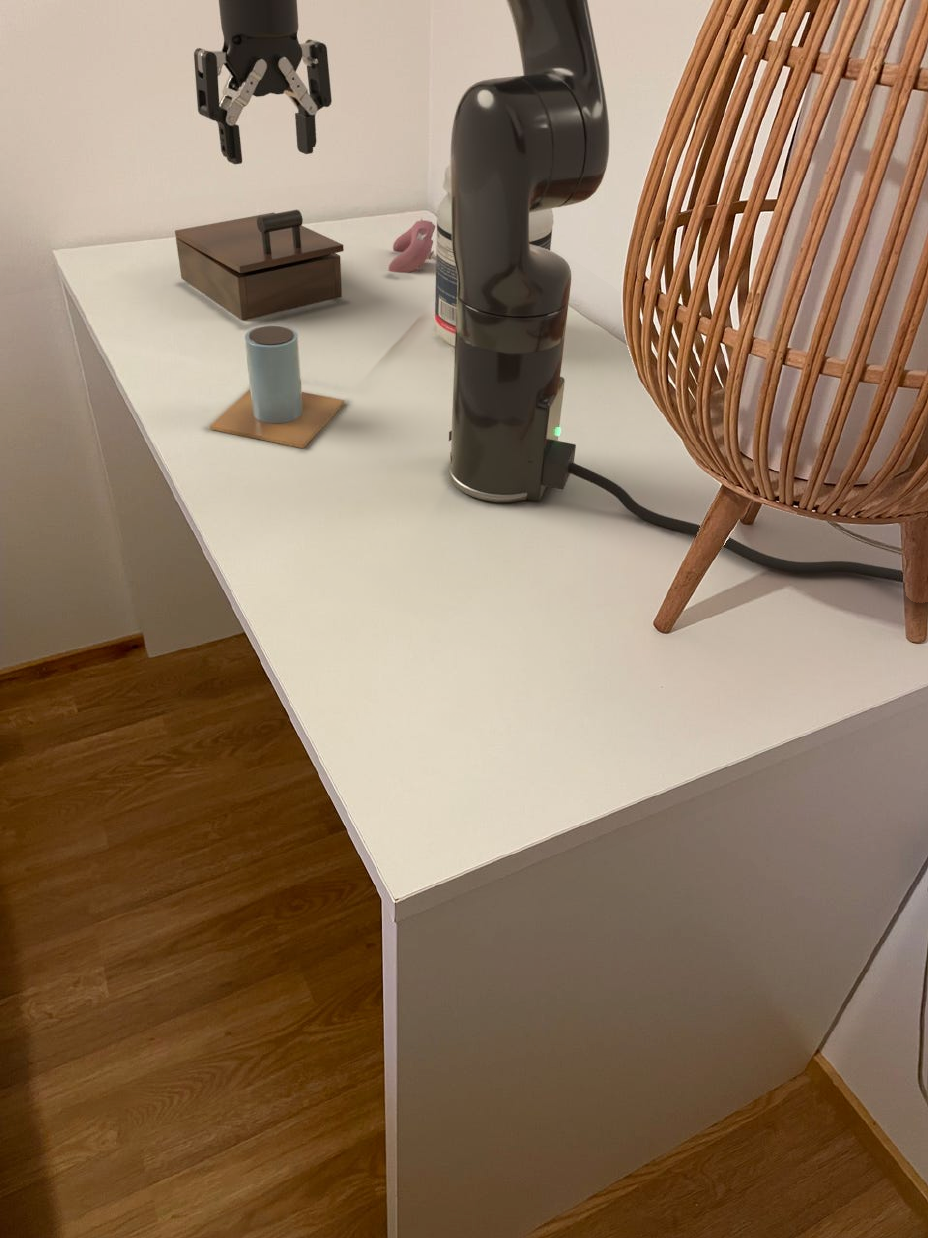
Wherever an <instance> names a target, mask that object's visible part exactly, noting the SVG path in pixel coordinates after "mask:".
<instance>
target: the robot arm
mask: <svg viewBox="0 0 928 1238" xmlns="http://www.w3.org/2000/svg"><path fill="white" fill-rule="evenodd" d="M505 1H506V4H507V6H508V10H509V12H510V15H511V18H512V22H513V26H514V29H515V35H516V38H517V43H518V49H519V54H520V60H521V66H522V67H521V68H522V73H523V75H516V76H506V77H495V78H490V79H489V78H488V79H483V80H480V81H478V82H475V83H473V84H472V85H471V86H469V87H468V88H467V89H466V90H465V91H464V93H463V94H462V96H461V97H460V100H459V102H458V104H457V106H456V110H455V113H454V116H453V122H452V127H451V134H450V135H451V137H450V154H449V155H450V156H449V157H450V161H449V163H450V164H449V165H450V168H451V235H452V250H453V257H454V261H455V266H456V271H457V278H458V286H457V310H456V334H455V347H454V358H453V359H454V361H453V363H454V364H453V387H452V412H451V413H452V414H451V430H450V431H448V442H451V443H450V455H449V465H448V476H449V479H450V481H451V483H452V484H453V486H454V487H455V488H457V489H458V490H459V491H460V492H462V493H464V494H465V495H468V496H470V497H472V498H476V499H479V500H481V501H488V502H494V503H514V502H521V501H532V502H540V500H541V499H542V496H543V494H544V492H545V490H546V489H547V487H549V488H553V489H559V490H564V488H565V486H566V484H567V482H568V479H569V477H570V475H571V474H572V475H574V476H576V477H577V478H580V479H582V480H585V481H587V482H590V483H591V484H593V485H596V486H597V487H599V488H601V489H603V490H604V491H607V492H608V493H610V494H611V495H613V496H614V497H615V498H616V499H617V500H618V501H619V502H620V503H621V505H623V506H624V508H626V509H627V510H628V511H629V512H630V513H632V514H633V515H635V516H636V517H638V518H640V519H642V520H644V521H646V522H648V523H651V524H654V525H656V526H659V527H663V528H666V529H670V530H673V531H678V532H681V533H686V534H690V535H693V536H696V534H697V532H698V531H699V528H700V526H701V525H700V524H696V523H693V522H689V521H685V520H681V519H678V518H673V517H668V516H666V515H662V514H659V513H657V512H655V511H652V510H650V509H648V508H646V507H644V506H642V505H640V504H639V503H638V502H637V501H635V500H634V499H633V498H632V496H630V494H629V493H628V492H627V491H626V490H625V489H624V488H622V487H621V486H620V485H618V484H617V483H615V482H614V481H612V480H611V479H609V478H607V477H605V476H603V475H602V474H599V473H597V472H595V471H592V470H591V469H588V468H586V467H583V466H581V465H579V464H577V463H575V456H576V450H577V449H576V448H577V444H576V443H570V442H566V441H561V440H559V437H560V434H561V427H560V426H561V425H560V424H561V416H562V409H563V399H564V391H565V378H564V377H563V376H561V372H562V364H563V356H564V346H565V337H566V330H567V329H566V328H567V322H568V321H567V320H568V311H569V301H570V295H571V287H572V270H571V267H570V264H569V263H568V261H567V260H566V259H565V258H563V257H562V256H560V255H559V254H558V253H556V252H554V251H552V250H551V249H550V250H547V249H545V248H542V247H539V246H535V245H532V244H529V212H535V211H540V210H546V209H554V208H562V207H567V206H572V205H577V204H579V203H581V202H585V201H586V200H588V199H590V198H591V197H592V196H594V194H595V193H596V192H597V191H598V189H599V188H600V185H601V184H602V182H603V179H604V176H605V174H606V171H607V167H608V162H609V156H610V121H609V112H608V105H607V98H606V92H605V87H604V81H603V76H602V70H601V69H602V68H601V63H600V59H599V53H598V48H597V43H596V39H595V34H594V29H593V23H592V18H591V12H590V6H589V1H588V0H505ZM218 7H219V17H220V27H221V32H222V36H223V45H222V48H221V50H206V49H204V48H200V47H197V48H196V49H195V50H194V51H193V60H194V74H195V76H194V77H195V88H196V89H195V90H196V103H197V112H198V114H199V115H201V116H203V117H205V118H206V119H210V120H211V121H215V122H216V124H217V127H218V134H219V135H218V136H219V144H220V151H221V154H222V156H223V157H224V158H226V160H227V161H228V162H229V163H231V164H232V165H240V164H242V163H243V154H242V153H243V152H242V143H241V133H240V126H239V124H237V122H238V120H239V118H240V116H241V114H242V112H243V110H244V108H245V107H247V106H248V105H249V103H250V101H251V99H252V97H253V96H254V97H256V98H258V97H259V98H260V97H264V96H267V95H269V94H273V95H284V94H285V95H286V96H287V97H288V98H289V100H290V101H291V102H292V104H293V105H294V106H295V108H296V110H297V112H294V121H295V133H296V147H297V150H298V152H300V153H301V154H302V153H303V154H305V155H310V154H313V153H314V148H315V147H316V144H317V128H316V125H317V124H316V114H317V113H318V111H320V110H321V109H323V108H329V107H330V106H331V105H332V101H333V100H332V99H333V98H332V89H331V78H330V68H329V58H328V46H327V45H326V44H325V43H324V42H320V41H318V40H316V39H310V38H309V39H307V40H306V41H305V42H304V43H300V41H299V40H298V31H299V15H298V14H299V11H298V1H297V0H218ZM301 62H303V64H304V65H305V66H306V73H307V81H308V88H307V86H306V85H305V84H304V82H303V80H302V79H301V78H300V76H299V75H298V74H297V70H298V68H299V65H300V64H301ZM223 66H225V68H226V69H227V71H228V72H229V76H228V79H227V80H226V82H225V85H224V87H223V89H222V92H221V93H222V96H221V98H220V89H219V76H221V73H222V68H223ZM308 90H309V91H308ZM728 537H729V539H728V540H727V541H726V543H725V545H724V546H722V547H723V548H725V549H726V550H729V551H730V552H732V553H735V554H736V555H738V556H740V557H742V558H744V559H746V560H748V561H750V562H752V563H755V564H757V565H759V566H763V567H766V568H769V569H771V570H776V571H779V572H780V571H781V572H785V573H793V574H807V575H808V574H830V573H845V574H855V575H861V576H867V577H871V578H877V579H882V580H888V581H894V582H899V583H902V584H904V583H903V572H902V571H903V570H900V569H896V568H892V567H891V568H889V567H884V566H879V565H872V564H868V563H863V562H855V561H847V560H846V561H843V560H828V561H795V560H786V559H781V558H777V557H774V556H770V555H767V554H765V553H762V552H760V551H758V550H755V549H753V548H751V547H750V546H747V545H745V544H743V543H741V542H740V541H737V540H735V539H734V538H732V537H730V536H728Z"/></svg>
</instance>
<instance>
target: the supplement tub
mask: <svg viewBox="0 0 928 1238" xmlns="http://www.w3.org/2000/svg"><path fill="white" fill-rule="evenodd" d="M442 184H443V185H442V187H443V189H444V190H445V191H446V195H445V196H444V197H442V199H441V201H440V202H439V204H438V207H437V213H436V244H435V245H436V249H435V252H436V255H435V295H434V297H435V299H434V300H435V301H434V326H435V330H436V332H437V334H438V335H439V337H440V338H441V339H442V340H443V341H444V342H446V343H447V344H449V345H450V346H452V347H454V348H455V334H456V310H457V286H458V278H457V271H456V266H455V261H454V257H453V250H452V235H451V168H450V164H449V165H448V166H447V167H446V168H445V170H444V181H443V183H442ZM553 226H554V213H553V208H551V209H546V210H540V211H535V212H529V244H532V245H535V246H539V247H542V248H545V249H547V250H550V251H551V246H552V236H553Z"/></svg>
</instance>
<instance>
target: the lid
mask: <svg viewBox="0 0 928 1238" xmlns="http://www.w3.org/2000/svg"><path fill="white" fill-rule="evenodd" d="M303 221H304V219H303V216H302V213H301V211H300V210H299V209H293V210H286V211H281V212H277V213H276V212H268V213H263V214H258V215H252V216H247V217H241V218H236V219H230V220H225V221H219V222H214V223H208V224H203V225H198V226H197V225H196V226H191V227H187V228H181V229H175V230H174V235H175V238H178V239H180V240H182V241H184V242H186V243H187V244H189V245H191V246H193V247H194V248H196V249H198V250H200V251H202V252H203V253H205V254H207V255H209V256H210V257H212V258H214V259H216V260H218V261H219V262H221V263H223V264H225V265H226V266H228V267H230V268H232V269H234V270H235V271H237V272H239V273H245V272H249V271H254V270H259V269H263V268H268V267H272V266H277V265H282V264H286V263H291V262H296V261H300V260H305V259H310V258H314V257H319V256H324V255H328V254H333V253H336V254H338V253H342V252H344V249H345V247H344V244H343V243H341V242H339V241H336V240H334V239H333V238H329V237H327V236H325V235H323V234H321V233H319V232H318V231H317V232H316V231H315V230H313V229H310V228H308V227H306V226H303V224H304V223H303Z"/></svg>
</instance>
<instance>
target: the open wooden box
mask: <svg viewBox="0 0 928 1238" xmlns="http://www.w3.org/2000/svg"><path fill="white" fill-rule="evenodd" d="M175 242H176V250H177V251H176V252H177V256H178V264H179V272H180V277H181V280H183V281H184V282H186V283H187V284H189V285H190V286H192V287H193V288H194V289H196V290H197V291H199V292H201V293H202V294H203V295H205V296H206V297H207V298H209V299H210V300H212V301H213V302H214V303H216V304H217V305H219V306H220V307H222V308H223V309H224V310H226V311H227V312H229V313H230V314H232V315H233V316H234V317H236V318H238V319H239V320H240V321H242V322H243V321H248V320H252V319H256V318H260V317H264V316H268V315H273V314H276V313H281V312H285V311H289V310H292V309H293V310H294V309H297V308H301V307H305V306H306V307H307V306H310V305H314V304H318V303H322V302H326V301H332V300H334V299H338V298H342V297H343V294H342V293H343V291H342V290H343V289H342V264H341V255H339V254H338V253H333V254H328V255H324V256H319V257H314V258H310V259H305V260H300V261H296V262H291V263H286V264H282V265H277V266H272V267H268V268H263V269H259V270H254V271H249V272H245V273H239V272H237V271H235V270H234V269H232V268H230V267H228V266H226V265H225V264H223V263H221V262H219V261H218V260H216V259H214V258H212V257H210V256H209V255H207V254H205V253H203V252H202V251H200V250H198V249H196V248H194V247H193V246H191V245H189V244H187V243H186V242H184V241H182V240H180V239H178V238H177V237H175Z"/></svg>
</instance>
